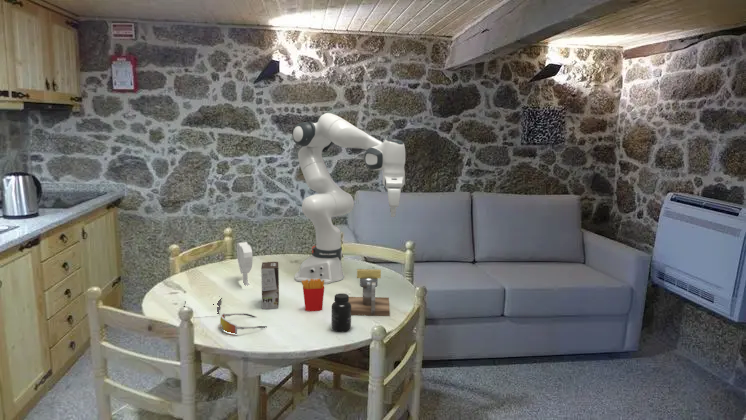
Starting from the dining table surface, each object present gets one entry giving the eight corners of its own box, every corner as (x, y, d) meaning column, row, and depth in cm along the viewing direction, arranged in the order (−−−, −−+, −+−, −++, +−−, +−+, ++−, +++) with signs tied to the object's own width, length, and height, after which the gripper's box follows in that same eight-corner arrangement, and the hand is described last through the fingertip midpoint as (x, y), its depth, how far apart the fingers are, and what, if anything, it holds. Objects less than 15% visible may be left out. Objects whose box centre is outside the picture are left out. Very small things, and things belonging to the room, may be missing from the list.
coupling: (380, 282, 193) (380, 267, 192) (381, 291, 183) (381, 276, 181) (356, 282, 192) (357, 267, 191) (356, 291, 182) (356, 275, 181)
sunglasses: (213, 324, 174) (215, 310, 174) (254, 321, 183) (255, 308, 182) (227, 339, 163) (228, 324, 162) (269, 335, 172) (271, 321, 171)
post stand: (389, 316, 184) (390, 285, 182) (346, 315, 184) (346, 284, 182) (388, 302, 198) (389, 273, 196) (348, 301, 198) (348, 272, 196)
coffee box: (278, 308, 189) (278, 267, 186) (261, 309, 188) (260, 268, 185) (279, 300, 198) (278, 261, 195) (262, 300, 197) (262, 261, 194)
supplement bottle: (353, 331, 170) (353, 298, 168) (333, 333, 168) (333, 300, 166) (348, 323, 177) (348, 291, 174) (329, 325, 175) (329, 293, 172)
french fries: (324, 307, 192) (323, 277, 190) (324, 310, 188) (324, 280, 186) (301, 307, 190) (301, 277, 188) (301, 311, 187) (301, 281, 184)
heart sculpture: (236, 279, 222) (234, 240, 218) (247, 278, 224) (246, 239, 221) (243, 290, 208) (241, 249, 205) (255, 289, 210) (254, 248, 207)
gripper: (385, 177, 207) (384, 209, 210) (386, 183, 187) (385, 219, 190) (400, 177, 207) (399, 210, 210) (402, 183, 187) (401, 219, 190)
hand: (392, 214), depth 199 cm, fingers open, 8 cm apart
